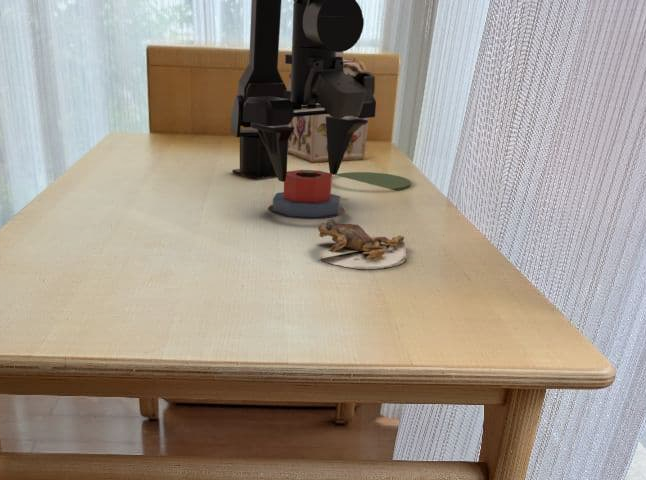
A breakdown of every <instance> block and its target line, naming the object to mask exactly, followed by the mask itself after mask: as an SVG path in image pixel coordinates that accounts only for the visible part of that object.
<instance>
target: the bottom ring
mask: <svg viewBox="0 0 646 480" xmlns="http://www.w3.org/2000/svg"><path fill="white" fill-rule="evenodd" d="M341 200H342V196H340V195H338V194H333V193H331V197H330V200H329V201H323V202H317V203H309V202H294V201H291V200H288V199H285V198H284V191H281V192H276V193H275V195H274V196H273V198H272V205H273V211H276V212H279V213H282V214H285V215H288V216H296V217H314V218H318V217H324V216H330V215H336V214H338V213H339V209H340V207H341Z"/></svg>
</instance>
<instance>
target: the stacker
mask: <svg viewBox="0 0 646 480" xmlns="http://www.w3.org/2000/svg"><path fill="white" fill-rule="evenodd" d="M302 170H303V171H301V177H315V175H316V172H315V171H313V170H314V169H302ZM267 211H268V212H269V213H271V214H273V215H275V216H278V217H282V218H283V217H284V218H287V219H299V220H325V219H333V218H337V217H341V216H343V215H345V214H346V209H345V208H344V207H342V206H340V209H339V213H338V214H336V215H330V216H324V217H318V218H314V217H296V216H288V215H285V214H282V213H279V212H276V211H273V204H271V205H269V206H268V207H267Z"/></svg>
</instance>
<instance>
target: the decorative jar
mask: <svg viewBox="0 0 646 480" xmlns="http://www.w3.org/2000/svg"><path fill="white" fill-rule="evenodd" d="M336 56H340V57H342V60H343V62H344V65H343V70H344V73H345V74H346V75H354V76H356V74H357V73H359V72H368V69H367V68H366V66H365V64H364V62H363V61H360V60H357V59H353V58H344V51H343V52H336ZM287 85H288V86H287V90H291V71H290V72H289V74H288V83H287ZM317 104H318V103H317ZM327 116H330V115H329V114H322V115H310V116H298V117H294V118H293V119H292V121H291V122H290V123H289V125H288V126H289V127H293V128H294V130H293V132H292V134H291V136H290V137H289V139H288V154H290V155H294V156H295V157H299V158H301V159H304V160H305V161H308V162H310V163H324V162H328V149H327V132H326V117H327ZM361 119H364V120H368V122H367V124H366V125H362V126H361V127H360V128H359V129H358V130H357V131H356V132H355V133H354V134H353V136H352V138H351V140H350V142H349V144H348V146H347V149H346V152H345V154H344V157H343V159H342V162H343V161H356V160H358V161H359V160H364V159H365V154H366V146H367V136H368V127H369V118H361Z"/></svg>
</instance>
